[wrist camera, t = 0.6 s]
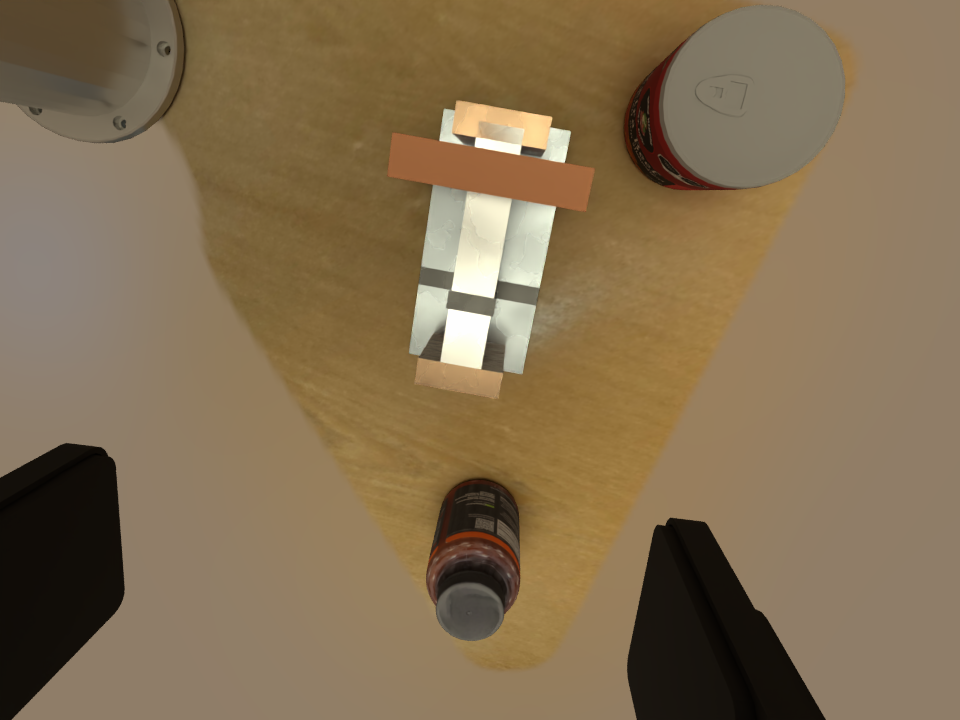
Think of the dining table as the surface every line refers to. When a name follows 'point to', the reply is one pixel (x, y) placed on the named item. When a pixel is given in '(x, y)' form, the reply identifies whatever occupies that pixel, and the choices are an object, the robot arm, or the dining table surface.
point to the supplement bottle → (475, 560)
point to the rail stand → (482, 260)
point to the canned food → (738, 102)
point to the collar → (490, 172)
